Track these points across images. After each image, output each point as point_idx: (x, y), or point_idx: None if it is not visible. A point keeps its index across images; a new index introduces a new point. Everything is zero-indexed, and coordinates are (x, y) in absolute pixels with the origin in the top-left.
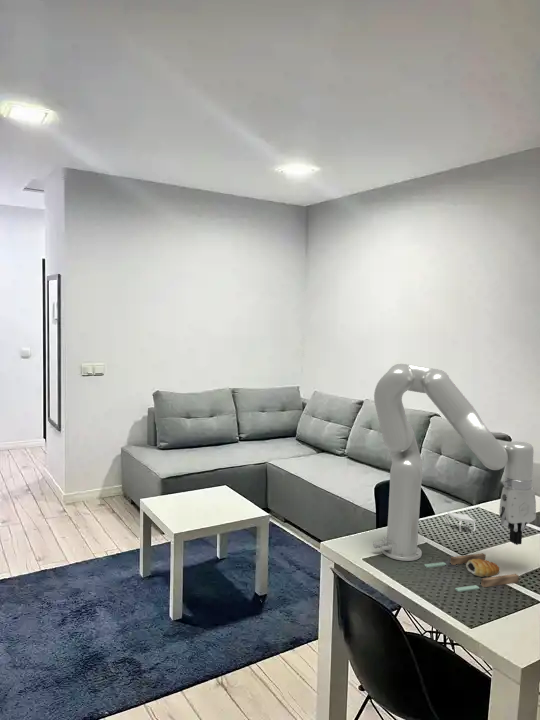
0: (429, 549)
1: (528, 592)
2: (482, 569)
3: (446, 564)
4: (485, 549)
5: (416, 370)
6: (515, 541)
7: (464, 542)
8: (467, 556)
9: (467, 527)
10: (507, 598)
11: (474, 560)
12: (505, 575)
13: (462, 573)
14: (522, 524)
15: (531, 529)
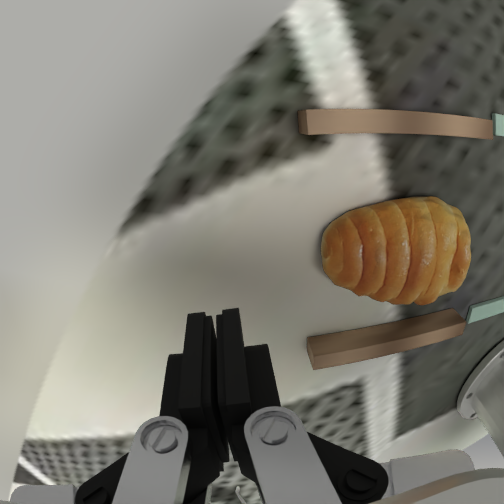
0: (424, 403)
1: (314, 14)
2: (446, 213)
3: (472, 307)
4: None
5: None
6: (242, 338)
7: None
8: (404, 341)
9: None
10: (437, 14)
11: (445, 281)
12: (382, 129)
13: None
14: (160, 495)
15: (24, 453)
